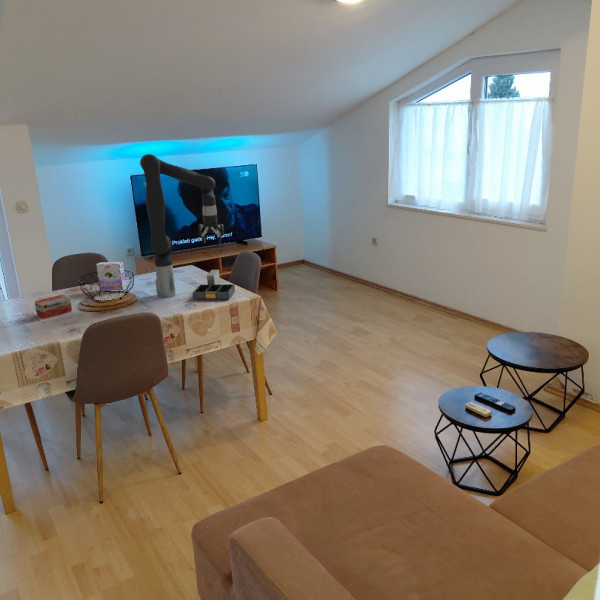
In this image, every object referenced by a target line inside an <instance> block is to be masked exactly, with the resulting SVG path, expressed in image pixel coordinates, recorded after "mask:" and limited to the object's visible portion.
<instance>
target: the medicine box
mask: <svg viewBox="0 0 600 600" xmlns="http://www.w3.org/2000/svg"><path fill="white" fill-rule="evenodd" d="M34 307H35V312H36V316H37V317H39V318H41V319H43V320H45V319H49V318H50V319H51V318H54V317H57V316H60V315H64V314H68V313H72V312H73V307H72V302H71V297H69V296H67V295H65V294H59V295H55V296H54V295H53V296H51V297H47V298H43V299H40V300H35V301H34Z"/></svg>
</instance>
